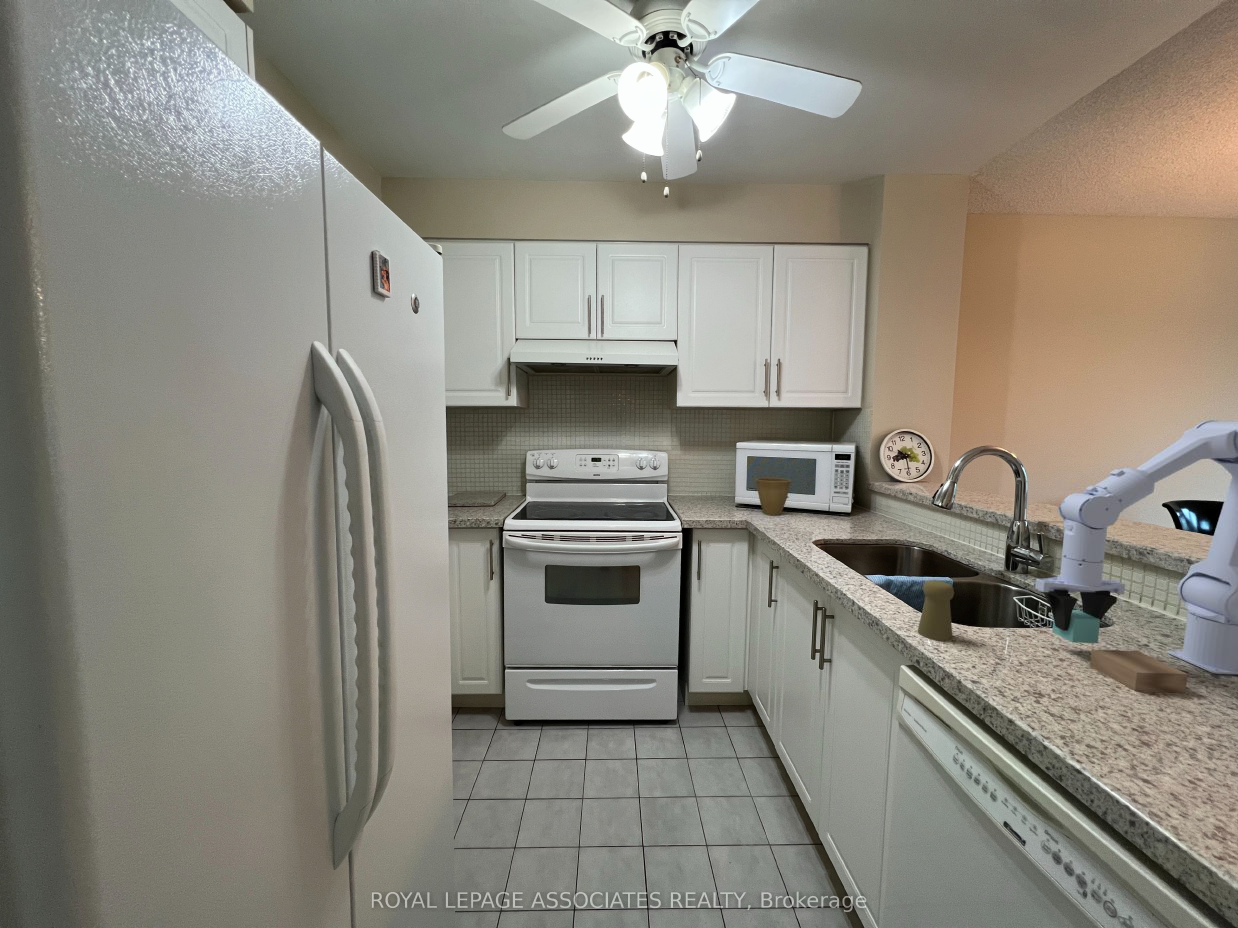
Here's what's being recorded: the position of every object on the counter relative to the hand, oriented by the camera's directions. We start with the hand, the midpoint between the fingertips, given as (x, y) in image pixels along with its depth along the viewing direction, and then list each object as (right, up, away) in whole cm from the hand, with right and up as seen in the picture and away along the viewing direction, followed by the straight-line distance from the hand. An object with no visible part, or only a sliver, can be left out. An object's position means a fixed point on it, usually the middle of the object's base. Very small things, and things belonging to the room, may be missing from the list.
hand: (1075, 628), depth 94 cm
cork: (-22, -4, +7) cm, 23 cm away
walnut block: (+2, -6, -9) cm, 11 cm away
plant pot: (-16, +8, +135) cm, 136 cm away
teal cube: (0, -2, 0) cm, 2 cm away
